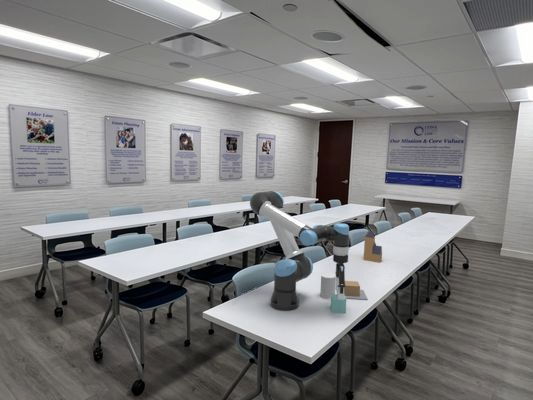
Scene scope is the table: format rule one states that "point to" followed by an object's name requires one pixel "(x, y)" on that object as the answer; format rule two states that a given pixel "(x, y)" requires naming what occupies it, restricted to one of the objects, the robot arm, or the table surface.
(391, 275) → the table surface
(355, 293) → the tower base
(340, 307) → the teal cube
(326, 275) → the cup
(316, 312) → the table surface
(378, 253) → the toy building blocks
